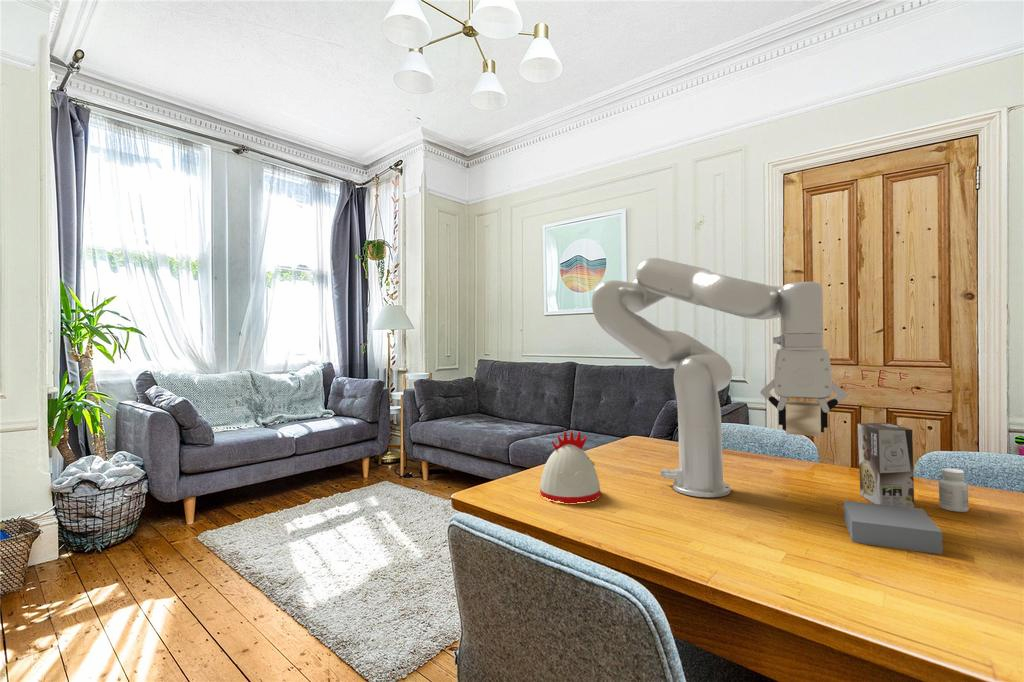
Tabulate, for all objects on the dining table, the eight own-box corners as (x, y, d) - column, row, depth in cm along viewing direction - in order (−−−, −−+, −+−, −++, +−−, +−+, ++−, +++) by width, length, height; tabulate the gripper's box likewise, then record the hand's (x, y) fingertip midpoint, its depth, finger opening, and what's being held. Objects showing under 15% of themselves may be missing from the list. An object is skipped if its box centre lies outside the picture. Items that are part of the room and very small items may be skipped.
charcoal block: (852, 544, 85) (851, 521, 85) (844, 521, 96) (843, 500, 96) (942, 557, 80) (942, 532, 80) (923, 531, 90) (922, 509, 90)
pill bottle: (963, 506, 101) (962, 468, 101) (972, 513, 97) (971, 474, 97) (936, 504, 103) (935, 466, 103) (943, 511, 99) (942, 472, 99)
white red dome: (604, 504, 109) (602, 435, 109) (541, 505, 109) (539, 436, 109) (595, 485, 123) (593, 424, 123) (539, 486, 123) (537, 426, 123)
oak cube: (786, 434, 101) (785, 404, 101) (785, 429, 106) (785, 401, 106) (820, 436, 98) (820, 406, 98) (818, 431, 104) (818, 402, 104)
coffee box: (916, 509, 100) (914, 429, 100) (880, 508, 101) (878, 429, 101) (891, 495, 109) (889, 422, 109) (858, 494, 110) (856, 421, 110)
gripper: (754, 343, 103) (755, 430, 103) (854, 342, 95) (855, 436, 95) (755, 342, 110) (756, 424, 110) (849, 341, 102) (850, 429, 102)
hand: (802, 429), depth 102 cm, fingers closed on oak cube, 6 cm apart
